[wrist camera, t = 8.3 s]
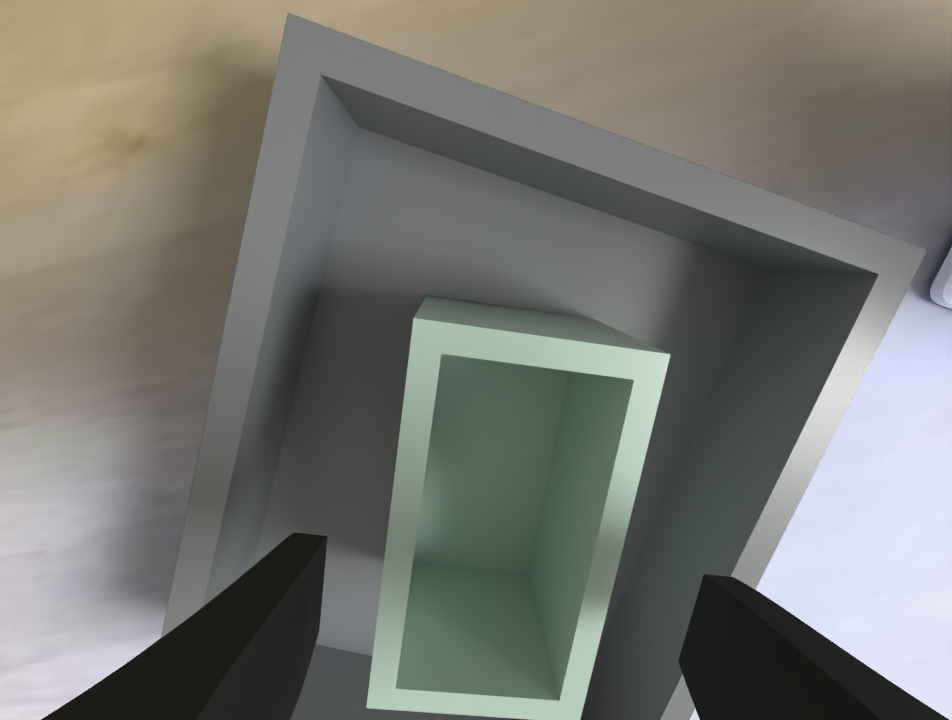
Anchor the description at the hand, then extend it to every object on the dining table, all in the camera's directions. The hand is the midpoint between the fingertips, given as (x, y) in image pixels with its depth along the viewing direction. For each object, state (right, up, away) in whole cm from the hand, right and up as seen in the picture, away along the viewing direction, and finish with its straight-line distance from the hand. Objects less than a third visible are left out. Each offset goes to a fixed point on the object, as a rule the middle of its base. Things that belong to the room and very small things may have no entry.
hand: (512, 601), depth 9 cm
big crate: (0, +2, +7) cm, 7 cm away
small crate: (0, +2, +6) cm, 6 cm away
